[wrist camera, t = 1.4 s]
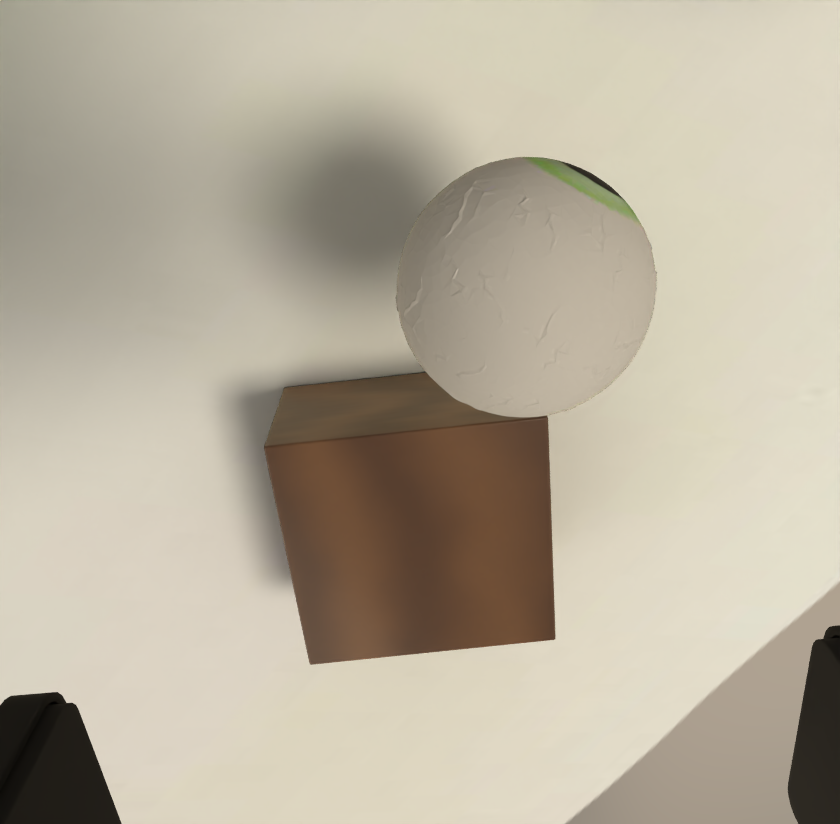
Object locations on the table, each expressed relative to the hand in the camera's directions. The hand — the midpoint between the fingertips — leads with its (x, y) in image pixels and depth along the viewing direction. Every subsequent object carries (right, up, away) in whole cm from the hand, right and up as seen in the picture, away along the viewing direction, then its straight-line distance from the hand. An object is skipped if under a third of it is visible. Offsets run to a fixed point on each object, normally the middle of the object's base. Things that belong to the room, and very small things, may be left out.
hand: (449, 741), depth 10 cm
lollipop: (+2, +12, +22) cm, 25 cm away
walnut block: (-1, +1, +27) cm, 27 cm away
